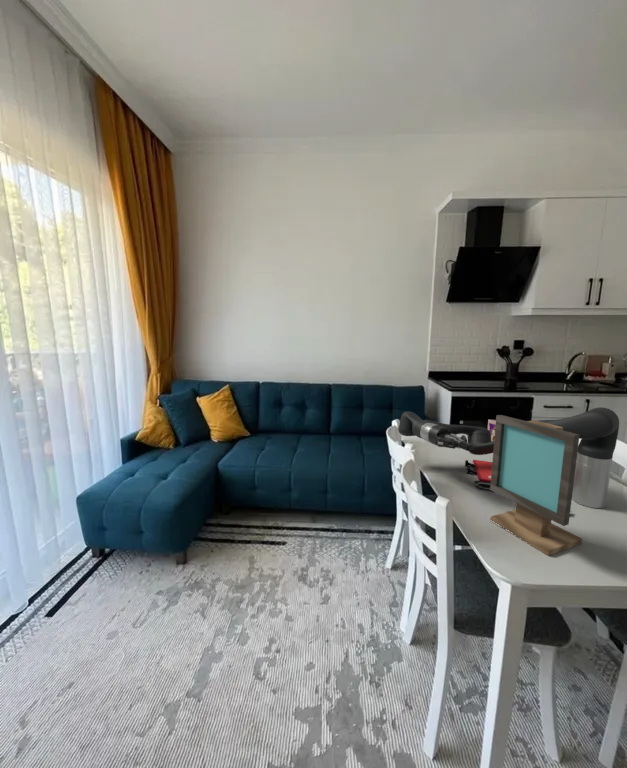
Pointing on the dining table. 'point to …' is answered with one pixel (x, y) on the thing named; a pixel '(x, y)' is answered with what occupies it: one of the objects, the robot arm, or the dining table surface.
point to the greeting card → (492, 428)
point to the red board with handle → (481, 472)
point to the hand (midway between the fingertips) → (470, 448)
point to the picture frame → (535, 466)
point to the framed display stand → (537, 525)
